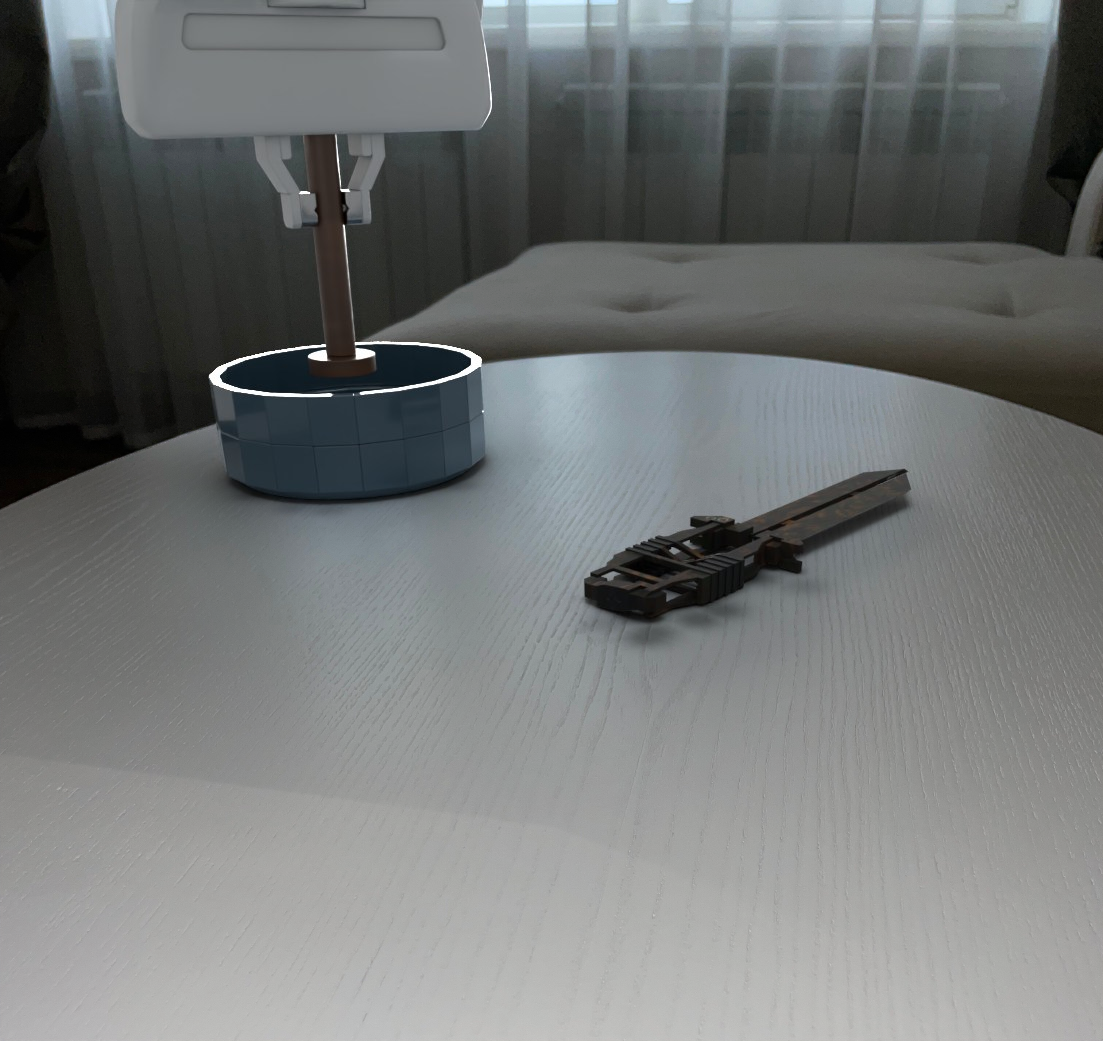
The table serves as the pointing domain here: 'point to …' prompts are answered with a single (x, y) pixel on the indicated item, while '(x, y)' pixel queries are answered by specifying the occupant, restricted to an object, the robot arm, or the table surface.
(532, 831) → the table surface
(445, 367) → the bowl
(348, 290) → the stirrer
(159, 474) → the table surface
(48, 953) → the table surface
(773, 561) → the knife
